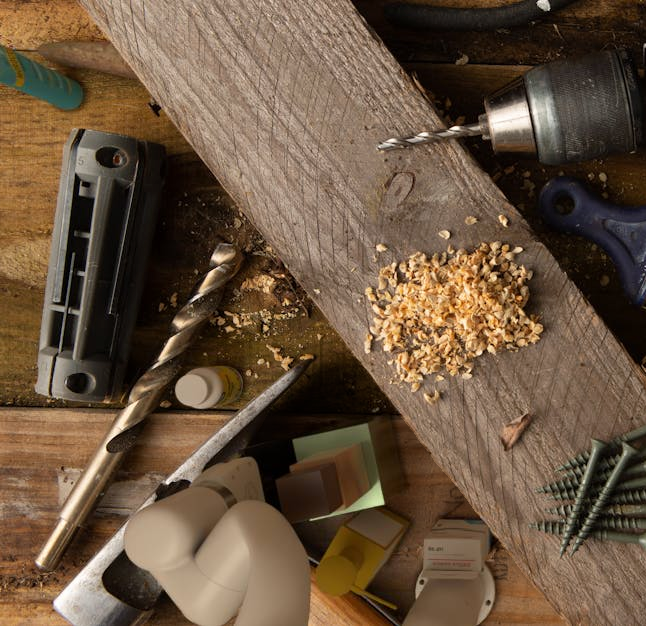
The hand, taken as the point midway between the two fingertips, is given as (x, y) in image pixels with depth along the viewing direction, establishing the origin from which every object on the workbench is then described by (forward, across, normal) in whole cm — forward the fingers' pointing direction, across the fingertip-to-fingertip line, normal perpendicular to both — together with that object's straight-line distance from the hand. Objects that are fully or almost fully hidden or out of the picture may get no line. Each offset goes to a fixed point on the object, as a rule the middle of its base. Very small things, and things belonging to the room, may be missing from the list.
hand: (264, 483), depth 116 cm
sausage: (+5, +68, +17) cm, 70 cm away
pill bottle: (+10, +15, +7) cm, 20 cm away
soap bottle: (+10, -14, -14) cm, 23 cm away
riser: (-3, 0, -13) cm, 13 cm away
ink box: (+10, -16, -25) cm, 31 cm away
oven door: (+11, 0, -4) cm, 12 cm away
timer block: (-15, 0, -13) cm, 19 cm away
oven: (+10, 0, -12) cm, 16 cm away
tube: (+11, +66, +23) cm, 70 cm away
